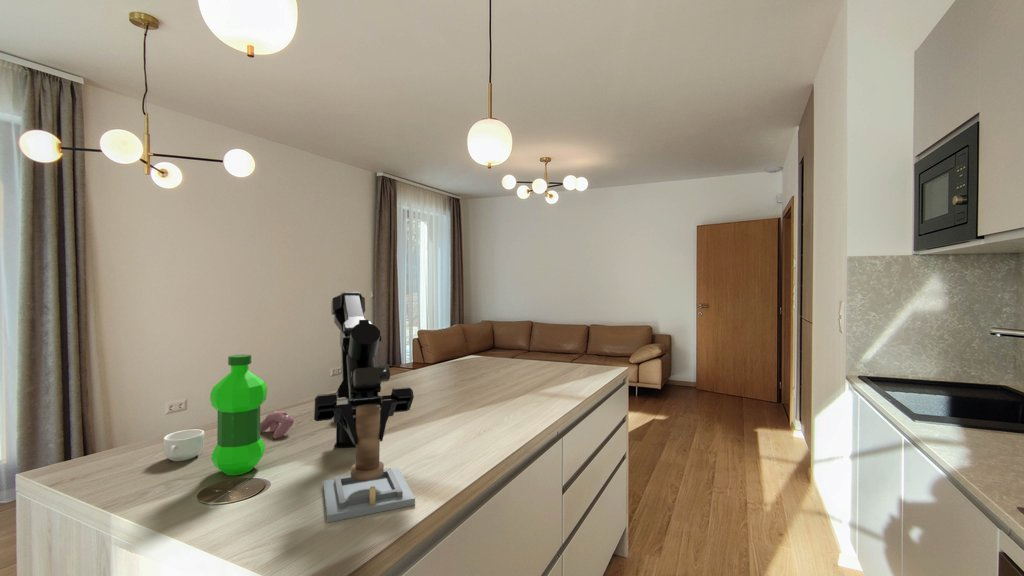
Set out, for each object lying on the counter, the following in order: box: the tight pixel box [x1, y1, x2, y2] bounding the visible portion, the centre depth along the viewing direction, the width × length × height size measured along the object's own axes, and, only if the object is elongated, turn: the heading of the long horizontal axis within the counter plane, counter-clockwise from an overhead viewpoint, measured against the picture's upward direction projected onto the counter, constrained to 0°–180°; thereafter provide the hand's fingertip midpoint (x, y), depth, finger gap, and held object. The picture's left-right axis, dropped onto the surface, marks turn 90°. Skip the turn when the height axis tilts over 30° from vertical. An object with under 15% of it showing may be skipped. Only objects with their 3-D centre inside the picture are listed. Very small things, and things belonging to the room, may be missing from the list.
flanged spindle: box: [350, 404, 385, 481], centre depth 86 cm, size 6×6×13 cm
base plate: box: [322, 467, 416, 523], centre depth 86 cm, size 15×15×4 cm
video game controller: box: [260, 410, 295, 440], centre depth 121 cm, size 10×5×7 cm, turn 58°
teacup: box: [162, 428, 205, 462], centre depth 103 cm, size 10×8×5 cm
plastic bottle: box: [209, 353, 268, 476], centre depth 97 cm, size 10×10×25 cm
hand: (368, 442), depth 84 cm, fingers closed on flanged spindle, 4 cm apart
